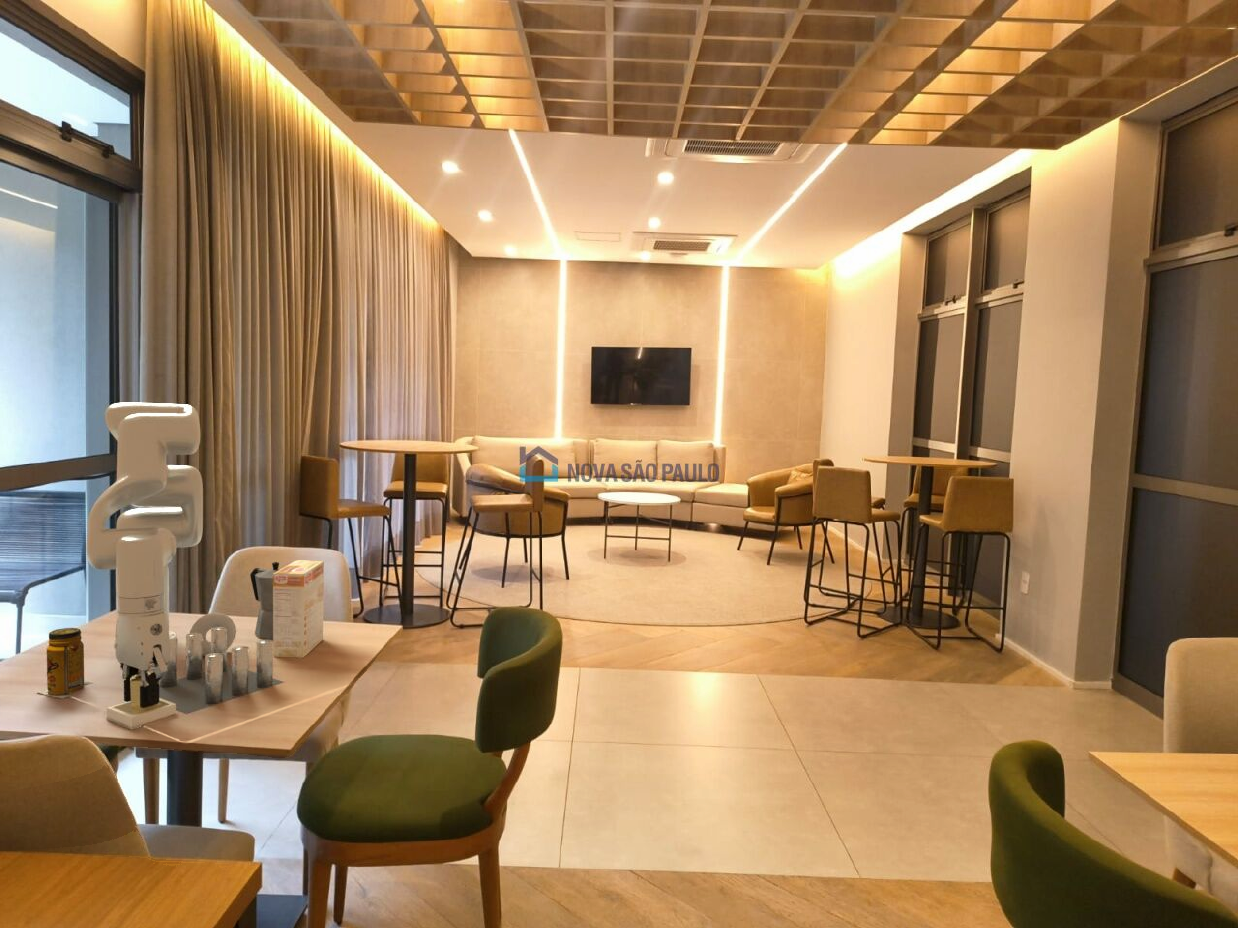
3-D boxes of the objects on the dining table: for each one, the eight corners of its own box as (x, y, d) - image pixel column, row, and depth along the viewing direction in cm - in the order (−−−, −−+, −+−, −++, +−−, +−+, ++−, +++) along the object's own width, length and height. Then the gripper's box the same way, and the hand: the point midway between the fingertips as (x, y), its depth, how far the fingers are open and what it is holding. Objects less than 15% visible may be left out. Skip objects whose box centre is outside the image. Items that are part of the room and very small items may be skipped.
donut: (192, 663, 179) (192, 618, 178) (186, 659, 182) (186, 614, 181) (238, 653, 187) (238, 610, 186) (232, 650, 189) (232, 607, 188)
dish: (106, 719, 148) (106, 707, 148) (151, 705, 155) (150, 694, 154) (131, 729, 144) (131, 717, 144) (176, 715, 151) (176, 703, 150)
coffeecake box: (295, 638, 199) (295, 559, 198) (324, 639, 200) (325, 560, 198) (271, 658, 184) (271, 572, 183) (303, 659, 185) (303, 573, 183)
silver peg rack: (156, 685, 164) (156, 641, 163) (221, 667, 176) (221, 626, 175) (211, 705, 155) (211, 658, 154) (275, 684, 167) (276, 641, 166)
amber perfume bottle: (124, 710, 149) (123, 678, 148) (152, 701, 153) (151, 670, 152) (138, 716, 146) (137, 683, 146) (165, 706, 151) (164, 674, 150)
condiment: (36, 693, 159) (35, 632, 158) (79, 679, 167) (78, 622, 166) (62, 699, 156) (61, 637, 155) (104, 685, 164) (103, 627, 163)
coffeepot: (309, 634, 203) (310, 562, 202) (277, 643, 195) (277, 568, 194) (267, 623, 211) (267, 554, 209) (234, 632, 202) (234, 560, 201)
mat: (131, 694, 160) (131, 692, 160) (229, 666, 178) (229, 664, 178) (186, 715, 151) (186, 713, 151) (284, 683, 169) (284, 681, 169)
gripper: (188, 606, 147) (189, 706, 148) (135, 592, 155) (136, 687, 156) (146, 615, 140) (147, 719, 141) (93, 600, 149) (94, 698, 150)
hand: (141, 701), depth 149 cm, fingers closed on amber perfume bottle, 4 cm apart
